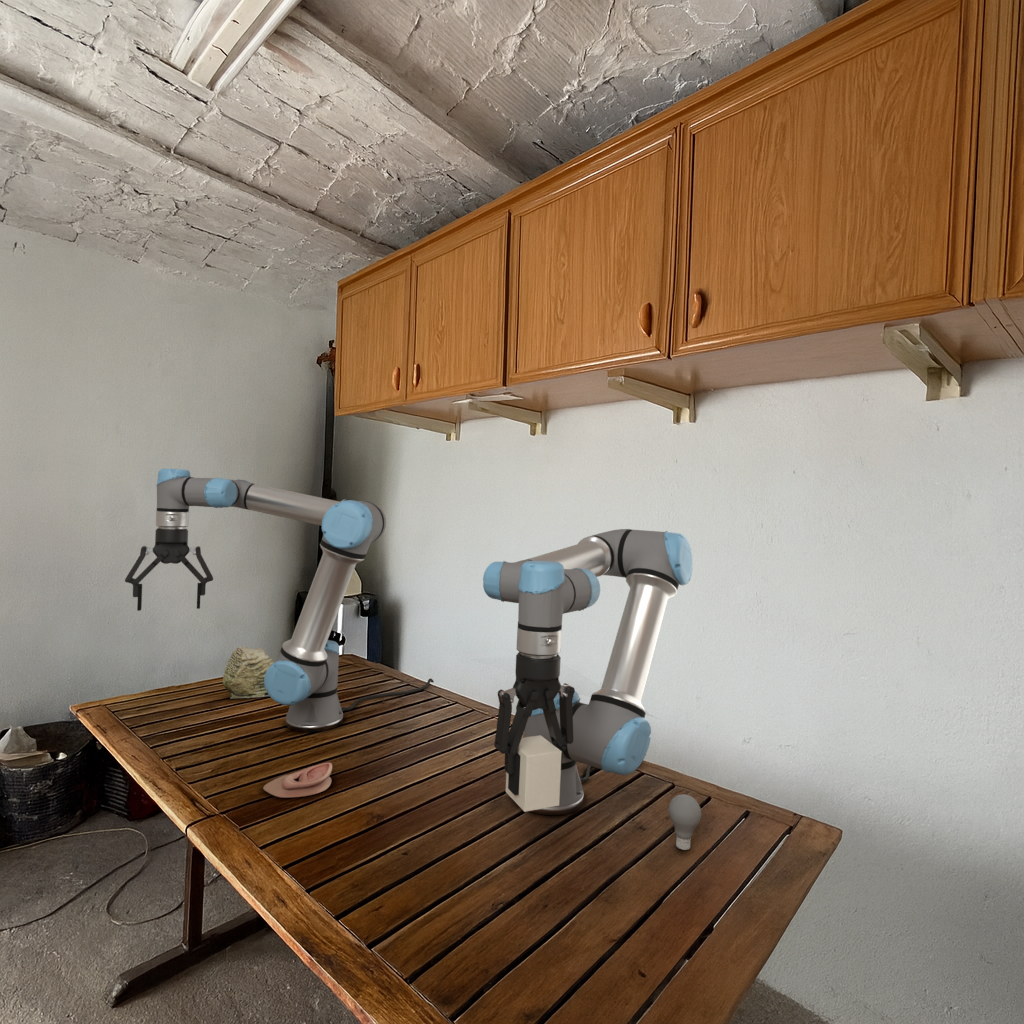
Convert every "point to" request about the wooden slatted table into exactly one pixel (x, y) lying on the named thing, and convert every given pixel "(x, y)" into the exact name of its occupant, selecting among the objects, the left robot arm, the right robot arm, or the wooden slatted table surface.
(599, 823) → the wooden slatted table surface
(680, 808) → the light bulb
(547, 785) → the block
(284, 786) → the anatomical model
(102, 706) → the wooden slatted table surface
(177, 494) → the left robot arm
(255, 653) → the fossil
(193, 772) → the wooden slatted table surface
